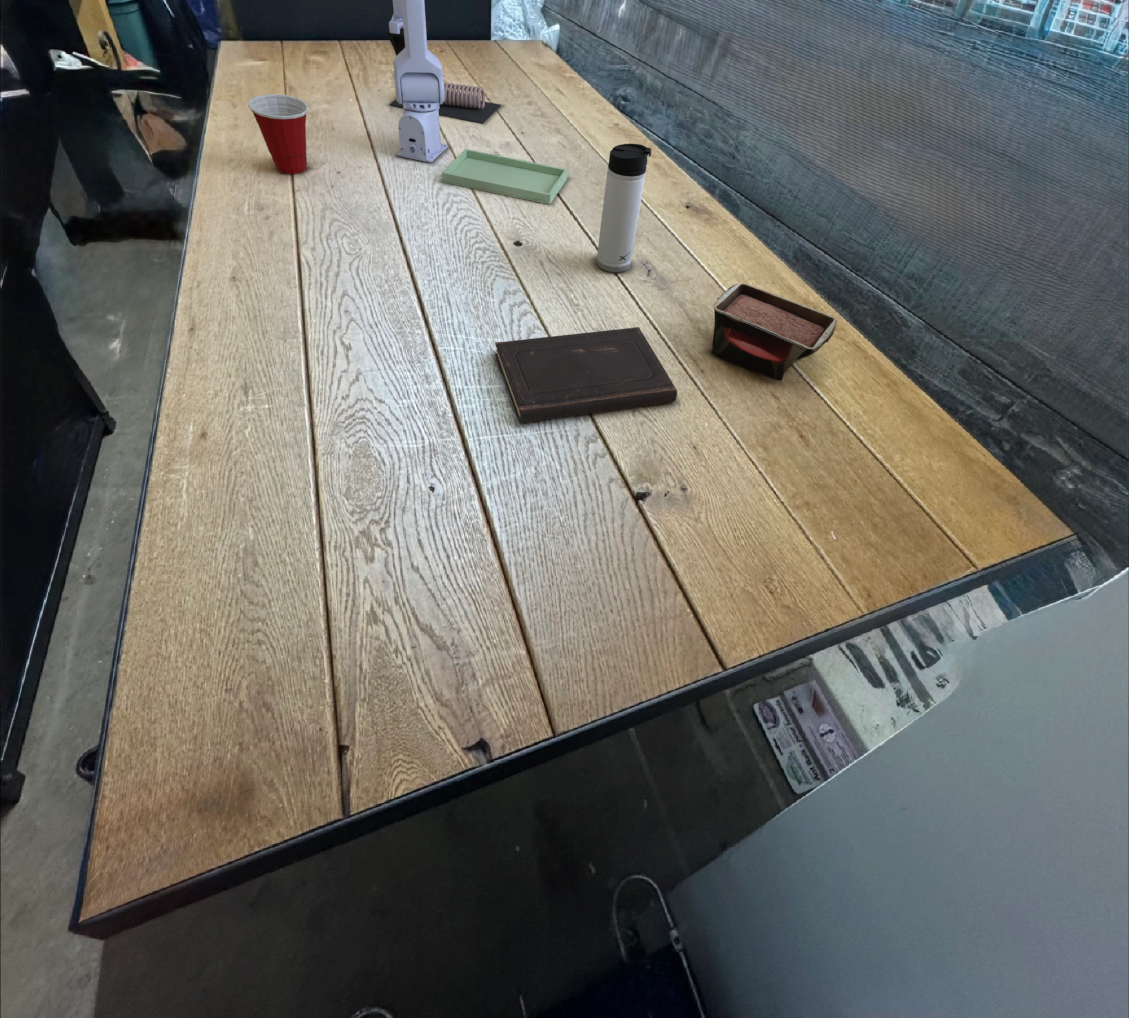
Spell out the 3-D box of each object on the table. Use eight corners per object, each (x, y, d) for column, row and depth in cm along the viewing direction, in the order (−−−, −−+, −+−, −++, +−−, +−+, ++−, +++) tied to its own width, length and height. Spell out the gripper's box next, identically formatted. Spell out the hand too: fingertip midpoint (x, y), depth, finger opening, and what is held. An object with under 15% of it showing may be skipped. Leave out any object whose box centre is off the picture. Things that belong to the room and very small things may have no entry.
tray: (549, 204, 132) (550, 195, 130) (442, 182, 134) (441, 172, 133) (567, 178, 140) (568, 169, 138) (465, 157, 143) (465, 148, 141)
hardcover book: (495, 355, 98) (495, 342, 97) (636, 339, 104) (638, 326, 102) (520, 425, 89) (520, 413, 87) (674, 404, 94) (678, 391, 92)
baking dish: (738, 323, 113) (744, 269, 105) (838, 354, 104) (853, 297, 97) (693, 365, 106) (697, 310, 98) (797, 403, 97) (809, 345, 90)
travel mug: (629, 276, 116) (649, 157, 101) (593, 269, 117) (607, 150, 101) (634, 258, 120) (653, 142, 105) (599, 252, 121) (613, 136, 105)
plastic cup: (312, 182, 130) (298, 115, 121) (257, 177, 129) (239, 110, 120) (326, 159, 137) (314, 95, 128) (274, 154, 136) (258, 89, 127)
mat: (482, 123, 156) (482, 122, 156) (389, 105, 159) (389, 104, 158) (500, 105, 164) (500, 104, 164) (412, 88, 167) (411, 87, 167)
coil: (486, 85, 159) (413, 76, 159) (482, 89, 156) (408, 80, 156) (485, 107, 163) (414, 98, 163) (482, 111, 159) (409, 102, 159)
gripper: (408, 0, 136) (414, 75, 147) (435, -15, 145) (439, 57, 156) (376, -6, 137) (385, 69, 147) (406, -20, 146) (412, 52, 157)
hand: (411, 62), depth 152 cm, fingers open, 7 cm apart
